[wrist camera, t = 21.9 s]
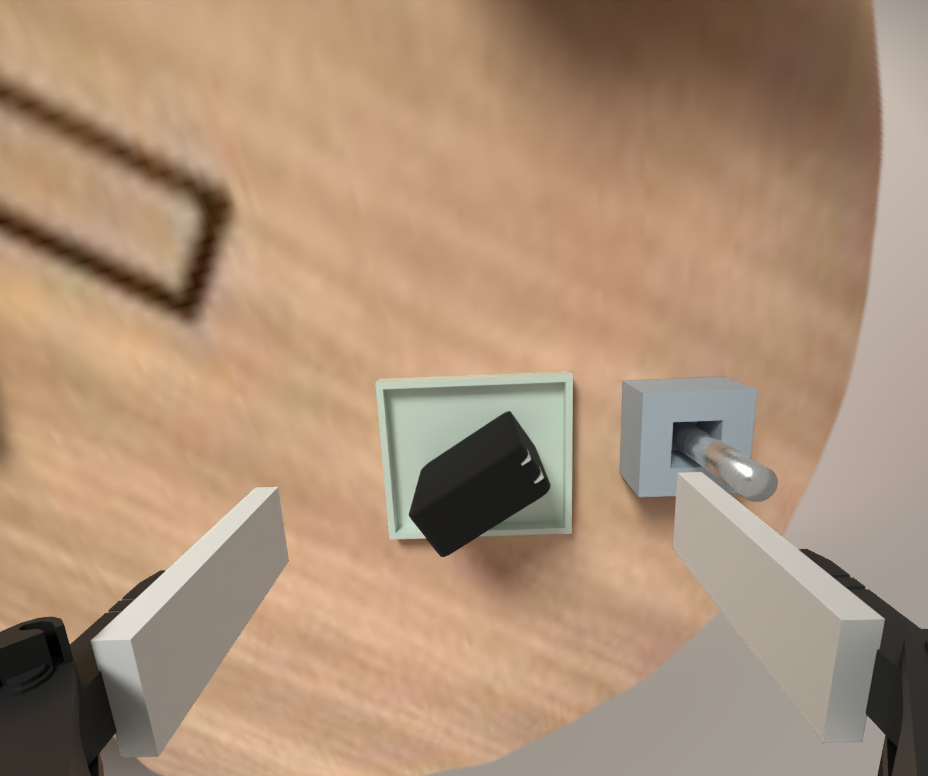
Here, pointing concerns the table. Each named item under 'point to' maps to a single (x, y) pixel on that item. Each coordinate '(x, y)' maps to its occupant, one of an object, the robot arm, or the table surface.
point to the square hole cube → (679, 400)
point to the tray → (461, 414)
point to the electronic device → (477, 485)
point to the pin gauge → (725, 462)
